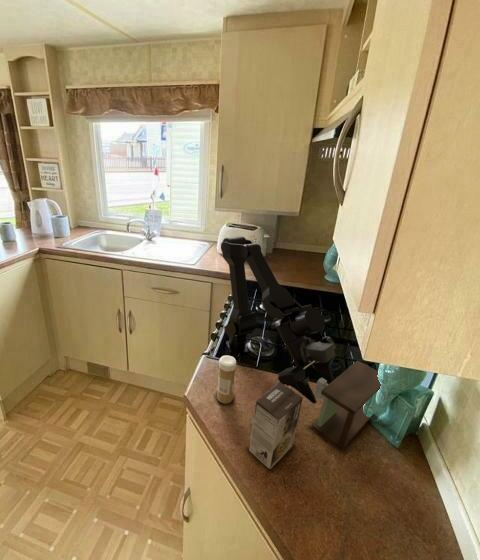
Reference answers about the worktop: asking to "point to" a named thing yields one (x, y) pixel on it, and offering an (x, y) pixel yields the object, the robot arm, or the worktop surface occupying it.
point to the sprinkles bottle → (226, 379)
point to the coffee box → (274, 424)
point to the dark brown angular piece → (348, 403)
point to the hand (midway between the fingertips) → (324, 395)
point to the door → (324, 403)
